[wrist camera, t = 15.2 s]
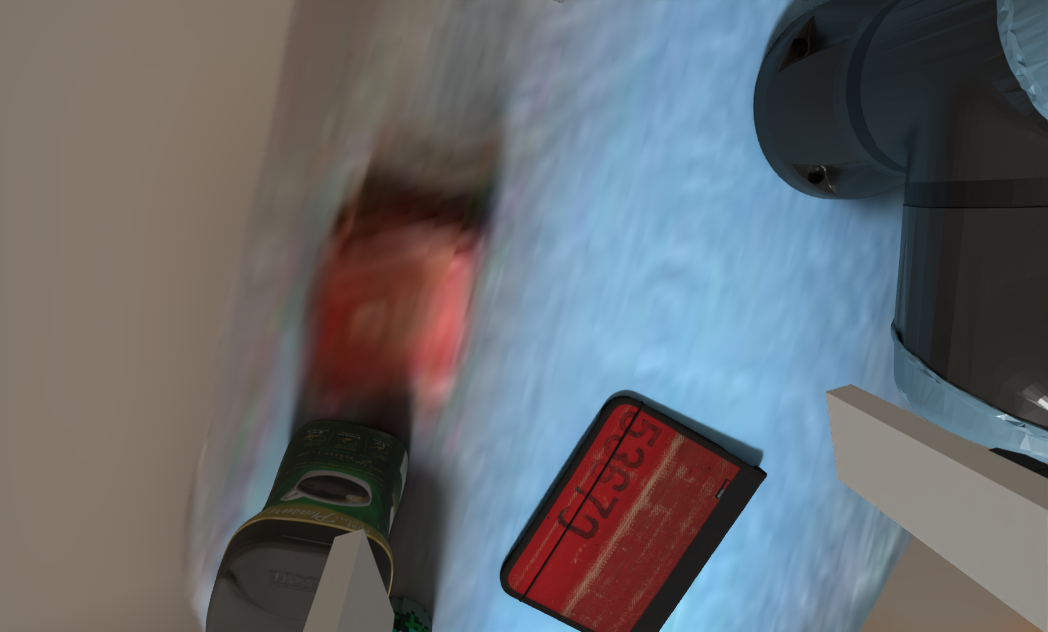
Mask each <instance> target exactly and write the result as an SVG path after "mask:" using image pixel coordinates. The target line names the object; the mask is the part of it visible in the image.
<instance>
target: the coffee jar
mask: <svg viewBox="0 0 1048 632" xmlns="http://www.w3.org/2000/svg"><path fill="white" fill-rule="evenodd" d="M407 467H408V457H407V452H406V449H405V447H404V446H403V444H402V443H401V442H400V441H399V440H398V439H397V438H395V437H394V436H392V435H390V434H388V433H385V432H382V431H380V430H376V429H373V428H370V427H366V426H362V425H357V424H353V423H347V422H341V421H332V420H317V421H313V422H310V423H308V424H305V425H304V426H302V427H301V428H300V429H299V430H298V431H297V432H296V433H295V434H294V436H293V438H292V439H291V441H290V443H289V445H288V447H287V449H286V452H285V454H284V456H283V459H282V462H281V464H280V467H279V470H278V473H277V476H276V479H275V482H274V484H273V487H272V490H271V492H270V495H269V497H268V500H267V502H266V504H265V506H264V508H263V510H262V511H261V512H260V513H258V514H257V515H256V516H254V517H252V518H251V519H249V520H248V521H247V522H245V523H244V524H243V525H242V526H241V527H240V528H239V529H238V530H237V531H236V532H235V534H234V535H233V536H232V538H231V540H230V541H229V543H228V545H227V548H226V550H225V552H224V556H223V559H222V562H221V564H220V567H219V570H218V573H217V576H216V580H215V584H214V587H213V591H212V594H211V598H210V603H209V607H208V613H207V619H206V632H303V630H304V627H305V624H306V621H307V618H308V615H309V612H310V609H311V606H312V603H313V601H314V598H315V595H316V592H317V589H318V586H319V583H320V580H321V577H322V574H323V571H324V568H325V565H326V562H327V559H328V556H329V553H330V550H331V548H332V545H333V542H334V539H335V537H337V536H341V535H344V534H347V533H351V532H354V531H358V530H361V529H364V532H365V534H366V537H367V540H368V543H369V545H370V548H371V551H372V554H373V556H374V559H375V562H376V565H377V568H378V570H379V573H380V576H381V579H382V581H383V584H384V587H385V590H386V592H387V595H388V597H389V593H390V589H391V584H392V578H393V556H392V552H391V549H390V546H389V544H388V537H389V533H390V529H391V526H392V523H393V520H394V517H395V514H396V511H397V508H398V506H399V503H400V500H401V497H402V493H403V489H404V485H405V481H406V475H407Z"/></svg>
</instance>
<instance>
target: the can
mask: <svg viewBox="0 0 1048 632" xmlns="http://www.w3.org/2000/svg"><path fill="white" fill-rule="evenodd" d="M389 601H390V604H391V606H392V609H393V612H394V623H393V630H392V632H432V625H431V624H430V621H431V619H429V614H428V613H426V612H424V606H422V605H420V604H418V603H416V602H414V601H412V600H410V599H408V598H406V597H403V599H402V600H400V599H398V598H396V597H394V596H393V598H392V599H391V600H390V599H389Z"/></svg>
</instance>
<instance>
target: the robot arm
mask: <svg viewBox="0 0 1048 632" xmlns="http://www.w3.org/2000/svg"><path fill="white" fill-rule="evenodd" d="M754 121H755V128H756V133H757V137H758V141H759V144H760V146H761V149H762V151H763V154H764V155H765V157H766V159H767V161H768V162H769V164H770V166H771V167H772V168H773V170H774V171H775V172H776V173H777V174H778V176H779V177H781V178H782V179H783V180H784V181H785V182H786V183H787V184H789V185H790V186H792V187H793V188H795V189H796V190H798V191H800V192H802V193H804V194H807V195H810V196H813V197H817V198H822V199H847V200H851V199H861V198H866V197H871V196H874V195H878V194H881V193H883V192H886V191H888V190H890V189H892V188H895V187H897V186H899V185H901V184H903V183H905V196H904V204H903V216H902V230H901V245H900V259H899V270H898V282H897V293H896V305H895V317H894V319H893V322H892V324H891V335H892V339H893V341H894V379H895V383H896V386H897V388H898V390H899V392H900V393H901V394H902V396H903V397H904V398H905V399H906V400H907V401H908V402H909V403H910V404H911V406H912V407H913V408H914V409H915V410H916V411H917V412H918V413H920V414H921V415H922V416H924V417H925V418H927V419H928V420H930V421H931V422H933V423H935V424H936V425H935V424H933V423H931V422H929V421H927V420H924V419H922V418H920V417H918V416H916V415H914V414H912V413H910V412H908V411H906V410H904V409H902V408H899V407H897V406H895V405H893V404H891V403H889V402H887V401H885V400H883V399H881V398H879V397H877V396H874V395H872V394H870V393H868V392H866V391H864V390H862V389H860V388H858V387H856V386H854V385H852V384H850V385H847V386H844V387H840V388H837V389H834V390H830V391H827V392H826V398H827V405H828V412H829V419H830V426H831V434H832V441H833V448H834V455H835V462H836V469H837V476H838V479H839V480H840V481H841V482H843V483H844V484H845V485H847V486H848V487H849V488H851V489H852V490H854V491H855V492H856V493H858V494H859V495H860V496H862V497H863V498H864V499H866V500H867V501H868V502H870V503H871V504H872V505H874V506H875V507H876V508H878V509H879V510H880V511H882V512H883V513H884V514H886V515H887V516H889V517H890V518H891V519H893V520H894V521H895V522H897V523H898V524H899V525H901V526H902V527H903V528H905V529H906V530H907V531H909V532H910V533H911V534H913V535H914V536H915V537H917V538H919V539H920V540H921V541H922V542H924V543H925V544H926V545H928V546H929V547H930V548H932V549H933V550H934V551H936V552H937V553H938V554H940V555H941V556H942V557H944V558H945V559H947V560H948V561H949V562H951V563H952V564H953V565H955V566H956V567H957V568H959V569H960V570H961V571H963V572H964V573H965V574H967V575H968V576H969V577H971V578H972V579H973V580H975V581H976V582H977V583H979V584H980V585H982V586H983V587H984V588H986V589H987V590H988V591H990V592H991V593H992V594H994V595H995V596H996V597H998V598H999V599H1000V600H1002V601H1003V602H1005V603H1006V604H1007V605H1008V606H1010V607H1011V608H1012V609H1014V610H1015V611H1017V612H1018V613H1019V614H1021V615H1022V616H1023V617H1025V618H1026V619H1027V620H1029V621H1030V622H1031V623H1033V624H1034V625H1035V626H1037V627H1038V628H1039V629H1041V630H1042V631H1044V632H1048V464H1045V463H1043V462H1046V463H1048V0H830V1H828V2H826V3H824V4H822V5H820V6H818V7H816V8H814V9H812V10H810V11H808V12H807V13H805V14H803V15H802V16H801V17H799V18H798V19H797V20H795V21H794V22H793V23H792V24H791V25H790V26H789V27H788V28H787V29H786V30H785V31H784V32H783V33H782V34H781V35H780V37H779V38H778V39H777V41H776V42H775V43H774V45H773V46H772V48H771V50H770V51H769V53H768V55H767V57H766V59H765V61H764V64H763V66H762V69H761V71H760V74H759V78H758V81H757V86H756V91H755V98H754ZM937 425H938V426H937ZM939 426H940V427H939ZM941 427H942V428H941ZM964 438H965V439H964ZM966 439H967V440H966ZM968 440H970V441H972V442H975V443H977V444H980V445H983V446H985V447H988V448H991V449H989V450H987V449H985V448H983V447H981V446H979V445H976V444H974V443H972V442H970V441H968ZM393 623H394V612H393V609H392V606H391V604H390V601H389V598H388V595H387V592H386V590H385V587H384V584H383V581H382V579H381V576H380V573H379V570H378V568H377V565H376V562H375V559H374V556H373V554H372V551H371V548H370V545H369V543H368V540H367V537H366V534H365V532H364V529H361V530H358V531H354V532H351V533H347V534H344V535H341V536H337V537H335V539H334V542H333V545H332V548H331V550H330V553H329V556H328V559H327V562H326V565H325V568H324V571H323V574H322V577H321V580H320V583H319V586H318V589H317V592H316V595H315V598H314V601H313V603H312V606H311V609H310V612H309V615H308V618H307V621H306V624H305V627H304V630H303V632H392V630H393Z"/></svg>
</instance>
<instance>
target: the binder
mask: <svg viewBox="0 0 1048 632" xmlns="http://www.w3.org/2000/svg"><path fill="white" fill-rule="evenodd" d="M766 476H767V473H766V472H765V471H763V470H762V469H761V468H760V467H758V466H754V467H752V466H751V465H749V464H747V463H746V462H744V461H742V460H741V459H739V458H737V457H736V456H734V455H732V454H730V453H729V452H727V451H726V450H725V449H724V448H722V447H721V446H719V445H717V444H716V443H714V442H713V441H711V440H709V439H708V438H706V437H704V436H702V435H701V434H699V433H697V432H695V431H693V430H692V429H690V428H688V427H686V426H684V425H683V424H681V423H679V422H677V421H675V420H674V419H672V418H670V417H668V416H666V415H665V414H663V413H661V412H659V411H657V410H655V409H653V408H651V407H649V406H647V405H645V404H644V403H643V402H642V401H638V400H636V399H634V398H631V397H628V396H618V397H615V398H613V399H611V400H610V401H609V402H607V403H606V404H605V405H604V407H603V408H602V410H601V413H600V416H599V418H598V420H597V422H596V424H595V426H594V427H593V429H592V430H591V432H590V434H589V435H588V437H587V438H586V440H585V442H584V443H583V445H582V446H581V448H580V450H579V451H578V453H577V454H576V456H575V458H574V459H573V461H572V462H571V464H570V465H569V467H568V469H567V470H566V472H565V473H564V475H563V476H562V478H561V479H560V481H559V482H558V483H557V485H556V487H555V488H554V490H553V492H552V494H551V495H550V497H549V498H548V500H547V501H546V503H545V504H544V506H543V507H542V509H541V511H540V512H539V514H538V515H537V517H536V519H535V520H534V522H533V523H532V525H531V526H530V528H529V529H528V531H527V532H526V534H525V535H524V537H523V539H522V540H521V542H520V543H519V544H518V545H517V546H516V548H515V549H514V550H513V551H512V553H511V554H510V555H509V557H508V558H507V560H506V561H505V563H504V564H503V566H502V568H501V571H500V581H501V586H502V588H503V590H504V591H505V592H506V593H507V594H508V595H510V596H512V597H513V598H515V599H518V600H519V601H520V602H521V601H522V602H523V603H525V604H527V605H529V606H531V607H533V608H535V609H537V610H539V611H541V612H543V613H545V614H547V615H549V616H551V617H553V618H555V619H557V620H559V621H561V622H563V623H565V624H567V625H569V626H571V627H573V628H575V629H577V630H579V631H581V632H659V631H660V629H661V628H662V626H663V625H664V623H665V622H666V620H667V619H668V618H669V616H670V615H671V613H672V612H673V611H674V609H675V608H676V606H677V605H678V603H679V602H680V600H681V599H682V598H683V596H684V595H685V593H686V592H687V590H688V589H689V587H690V586H691V584H692V583H693V581H694V580H695V578H696V577H697V576H698V574H699V573H700V571H701V570H702V568H703V567H704V565H705V564H706V563H707V561H708V560H709V558H710V557H711V555H712V554H713V553H714V551H715V550H716V548H717V547H718V545H719V544H720V542H721V541H722V539H723V538H724V537H725V535H726V534H727V532H728V531H729V529H730V528H731V526H732V525H733V524H734V522H735V521H736V519H737V518H738V516H739V515H740V514H741V512H742V511H743V509H744V508H745V506H746V505H747V504H748V502H749V500H750V499H751V498H752V496H753V495H754V493H755V492H756V490H757V489H758V487H759V486H760V484H761V483H762V482H763V481H764V479H765V478H766Z"/></svg>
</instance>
